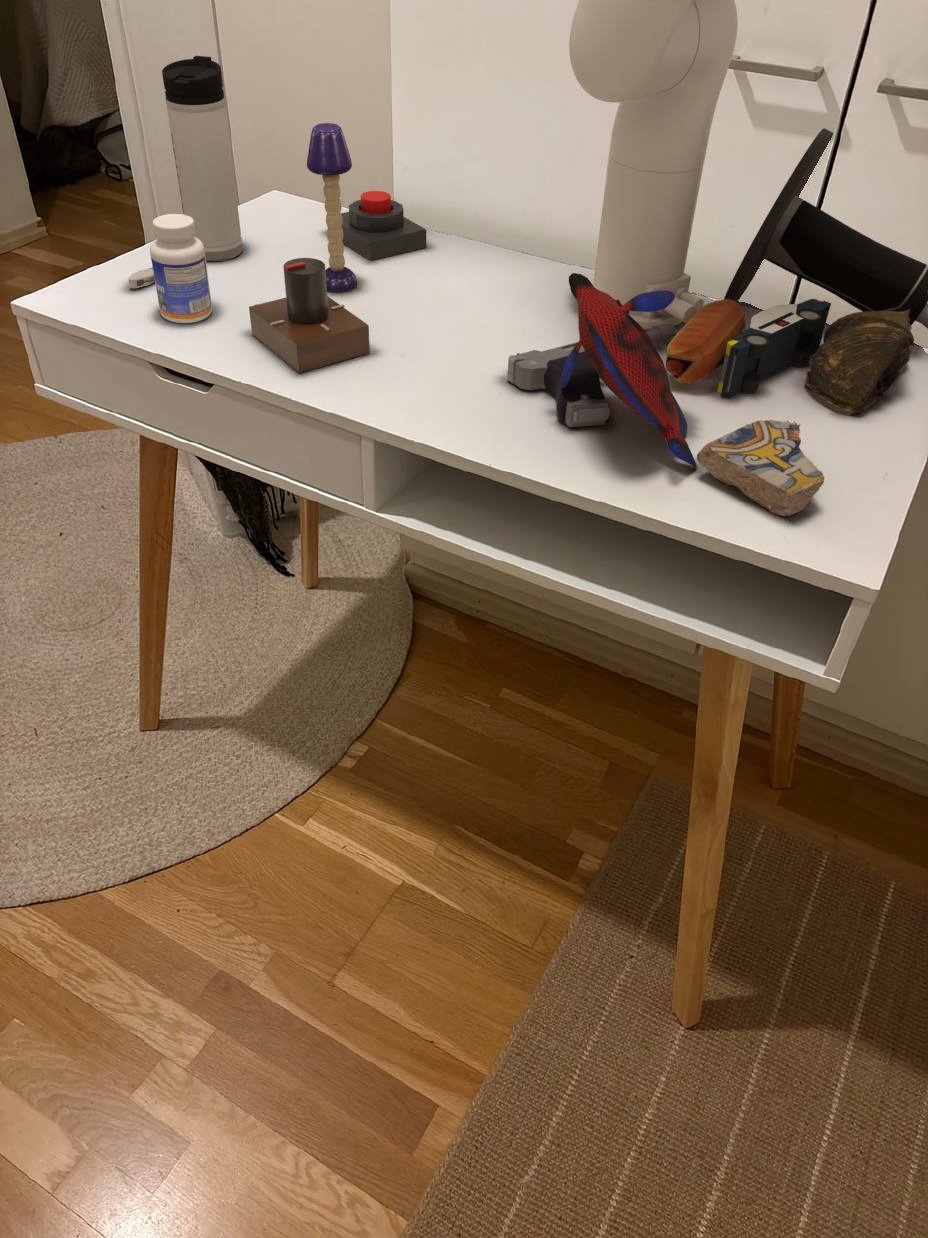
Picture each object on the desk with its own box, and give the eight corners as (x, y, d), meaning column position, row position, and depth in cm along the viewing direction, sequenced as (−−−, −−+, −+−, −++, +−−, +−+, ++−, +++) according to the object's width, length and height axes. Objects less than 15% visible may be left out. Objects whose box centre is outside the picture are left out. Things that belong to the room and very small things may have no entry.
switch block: (426, 247, 121) (426, 213, 118) (370, 260, 117) (369, 226, 115) (382, 221, 127) (381, 189, 124) (328, 233, 123) (326, 200, 121)
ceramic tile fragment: (853, 486, 78) (733, 492, 77) (841, 521, 80) (724, 527, 79) (792, 412, 87) (683, 416, 86) (782, 445, 89) (676, 449, 88)
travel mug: (252, 243, 120) (231, 57, 107) (230, 264, 115) (205, 72, 102) (203, 237, 121) (177, 52, 108) (180, 258, 116) (149, 66, 103)
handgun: (744, 360, 95) (663, 312, 103) (578, 410, 87) (503, 354, 95) (738, 384, 97) (659, 335, 105) (575, 435, 89) (502, 378, 97)
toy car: (735, 403, 94) (693, 383, 97) (829, 354, 103) (788, 337, 105) (746, 353, 91) (702, 334, 94) (842, 307, 99) (799, 291, 102)
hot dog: (720, 384, 93) (673, 398, 96) (760, 330, 102) (715, 345, 105) (700, 335, 91) (653, 351, 94) (743, 285, 100) (698, 301, 103)
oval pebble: (159, 271, 114) (158, 261, 113) (176, 275, 113) (175, 265, 112) (121, 286, 109) (120, 275, 109) (138, 290, 109) (137, 280, 108)
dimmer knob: (315, 303, 101) (312, 251, 98) (335, 317, 99) (332, 265, 95) (280, 312, 99) (275, 259, 96) (300, 327, 97) (295, 273, 93)
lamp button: (396, 212, 120) (396, 197, 118) (371, 217, 118) (370, 202, 117) (380, 203, 122) (380, 188, 121) (355, 208, 120) (354, 193, 119)
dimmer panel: (370, 352, 100) (369, 323, 98) (298, 373, 96) (295, 343, 94) (321, 316, 106) (319, 287, 104) (250, 334, 102) (247, 304, 100)
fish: (607, 205, 81) (681, 271, 93) (493, 303, 87) (577, 353, 99) (715, 395, 74) (780, 439, 87) (585, 488, 80) (662, 516, 93)
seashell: (886, 423, 92) (897, 350, 88) (788, 409, 96) (795, 340, 92) (927, 356, 102) (938, 288, 98) (838, 346, 107) (845, 281, 103)
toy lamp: (354, 295, 110) (347, 133, 99) (312, 293, 110) (301, 131, 99) (359, 277, 114) (352, 119, 103) (318, 276, 114) (307, 117, 103)
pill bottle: (161, 303, 107) (144, 211, 100) (212, 301, 108) (199, 209, 101) (160, 326, 103) (143, 231, 96) (213, 322, 104) (200, 228, 97)
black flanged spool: (715, 323, 115) (910, 430, 112) (731, 273, 96) (965, 400, 93) (806, 174, 113) (1007, 279, 110) (840, 92, 94) (1084, 216, 91)
